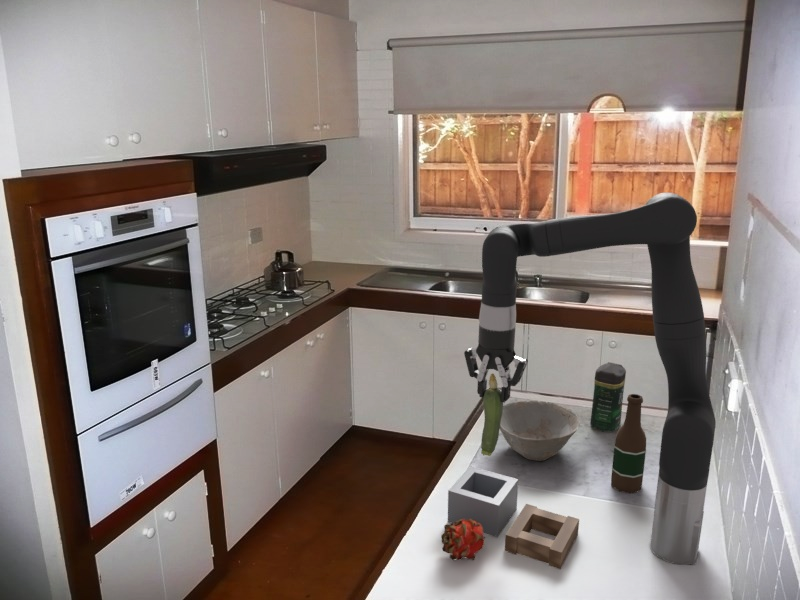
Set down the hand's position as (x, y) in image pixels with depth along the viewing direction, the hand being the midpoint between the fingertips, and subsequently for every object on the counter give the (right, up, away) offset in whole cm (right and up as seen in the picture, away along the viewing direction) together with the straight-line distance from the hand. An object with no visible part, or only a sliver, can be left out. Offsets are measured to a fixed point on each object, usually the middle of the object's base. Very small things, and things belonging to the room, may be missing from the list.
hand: (493, 398), depth 146 cm
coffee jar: (+40, -16, +52) cm, 68 cm away
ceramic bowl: (+16, -20, +38) cm, 46 cm away
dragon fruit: (-7, -32, -3) cm, 33 cm away
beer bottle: (+36, -25, +22) cm, 49 cm away
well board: (+11, -31, 0) cm, 33 cm away
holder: (-1, -28, +10) cm, 30 cm away
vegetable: (0, -13, +4) cm, 14 cm away
